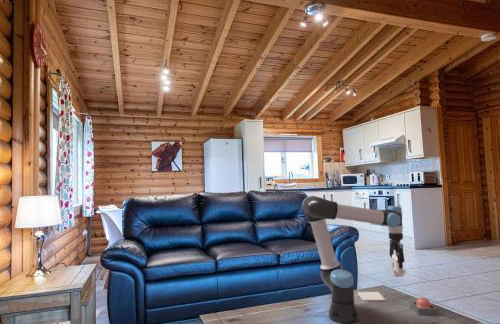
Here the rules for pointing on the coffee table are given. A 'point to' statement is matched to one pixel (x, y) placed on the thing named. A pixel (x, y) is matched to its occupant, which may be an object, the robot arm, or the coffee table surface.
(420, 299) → the pink ball
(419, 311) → the housing
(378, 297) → the game square
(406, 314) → the coffee table surface
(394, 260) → the white faucet
